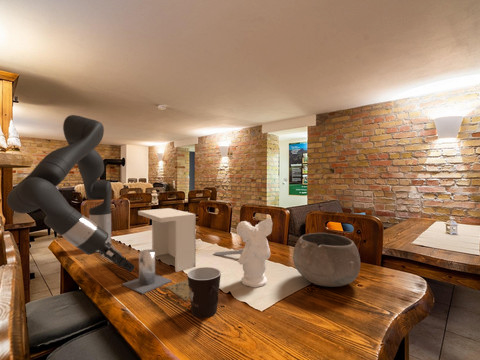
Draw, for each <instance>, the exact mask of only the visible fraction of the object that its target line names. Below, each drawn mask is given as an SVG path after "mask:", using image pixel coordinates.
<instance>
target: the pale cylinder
mask: <svg viewBox="0 0 480 360" xmlns="http://www.w3.org/2000/svg"><path fill="white" fill-rule="evenodd" d="M155 274H156V256H155V250H152V249H143V250H140V251H139V252H138V278H139V284H140V285H150V284H153V283H154V282H155Z"/></svg>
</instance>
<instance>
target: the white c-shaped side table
mask: <svg viewBox="0 0 480 360" xmlns="http://www.w3.org/2000/svg"><path fill="white" fill-rule="evenodd" d="M137 214H138V216H141V217H144V218H147V219H150V220H151V239H152V241H151V243H152V245H151V250H155V257H157V256H158V255H159V256H163V255H167V254H168V255H169V256H171V257H174V271H175V272H176V273H177V272H182V271H185V270H189V269H192V268H196V261H197V259H196V252H197V251H196V246H197V245H196V241H197V240H196V239H197V237H196V224H197V223H196V213H192V212H188V211H183V210H179V209H178V210H177V209H175V208H170V207H167V208H156V209H146V210H145V209H143V210H137ZM159 256H158V257H159Z"/></svg>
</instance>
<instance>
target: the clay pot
mask: <svg viewBox="0 0 480 360" xmlns="http://www.w3.org/2000/svg"><path fill="white" fill-rule="evenodd" d="M358 249H359V248H358V247H357V245H356V244H355V242H354V241H353V240H351V239H350V238H348V237H346V236H343V235H340V234H334V233H328V232H314V233H311V232H310V233H306V234H303V235H301V236H300V237H299V238H298V239H297V242H296V243H295V246H294V248H293V251H292V252H293V253H292V262H293V264H294V267H295V269H296V270H297V272H298V273H299V274H300V275H301V276H302V277H303V278H304V279H306V280H307V281H308V282H310V283H312V284H314V285H317V286H321V287H327V288H334V287H335V288H337V287H343V286H346V285H349V284H351V283H353V282H354V281H355V280H356V279H357V278H358V276H359V274H360V270H361V258H360V252H359V250H358Z"/></svg>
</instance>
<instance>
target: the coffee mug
mask: <svg viewBox="0 0 480 360" xmlns="http://www.w3.org/2000/svg"><path fill="white" fill-rule="evenodd" d="M186 275H187V279H188V283H189V292H190V299H189V300H190V308H191V314H192V316H193V317H195V318H198V319H208V318H210V317H211V318H212V317H213V316H215V315H216V313H217V309H218V301H219V294H220V285H221V277H222V272H221V270H220V269H219V268H215V267H211V266H210V267H209V266H203V267H197V268H196V267H195V268H194V269H191V270H189V271H188V272H187V273H186Z"/></svg>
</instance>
